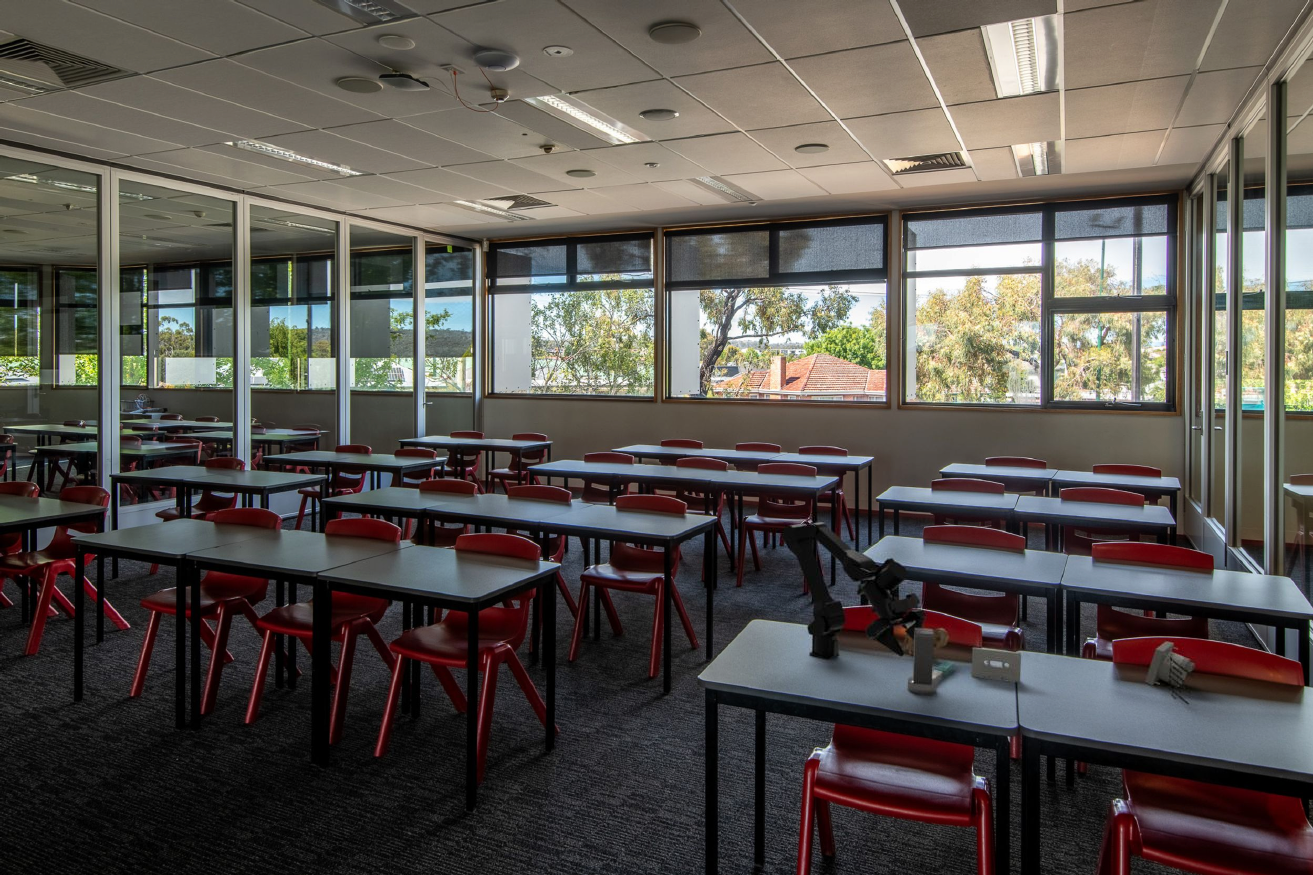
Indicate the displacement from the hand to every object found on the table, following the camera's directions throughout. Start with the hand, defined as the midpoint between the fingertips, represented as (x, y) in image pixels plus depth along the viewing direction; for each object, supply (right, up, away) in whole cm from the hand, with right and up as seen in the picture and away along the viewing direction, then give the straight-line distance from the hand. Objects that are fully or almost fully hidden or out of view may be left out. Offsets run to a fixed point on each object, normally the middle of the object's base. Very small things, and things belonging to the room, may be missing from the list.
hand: (914, 652), depth 213 cm
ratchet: (+7, -9, +5) cm, 12 cm away
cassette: (+24, -9, +7) cm, 27 cm away
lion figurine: (+11, -8, +25) cm, 29 cm away
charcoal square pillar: (+2, -7, -2) cm, 7 cm away
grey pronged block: (+66, -10, -1) cm, 66 cm away
